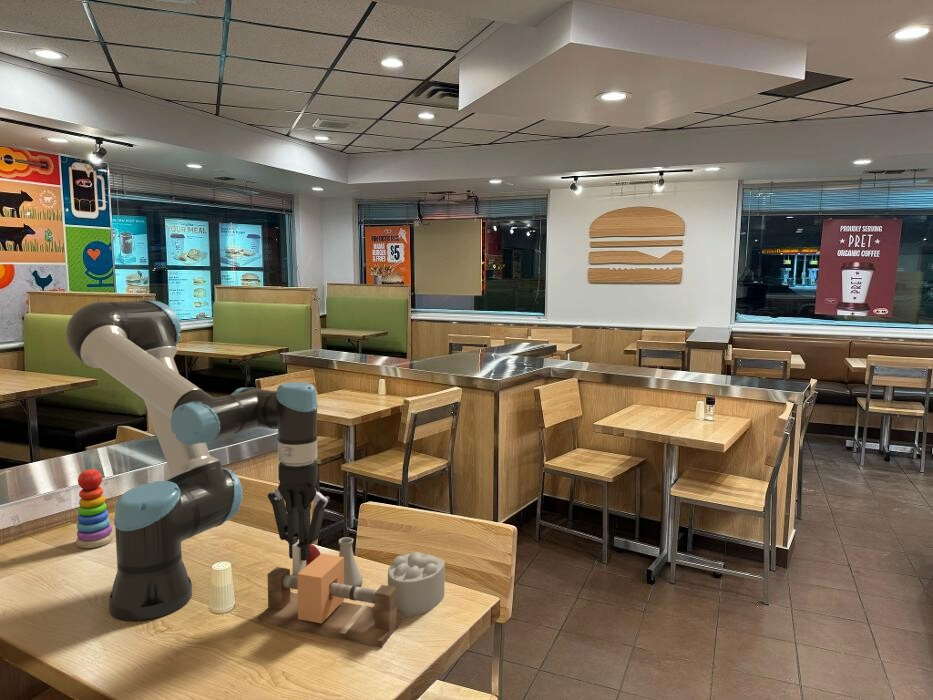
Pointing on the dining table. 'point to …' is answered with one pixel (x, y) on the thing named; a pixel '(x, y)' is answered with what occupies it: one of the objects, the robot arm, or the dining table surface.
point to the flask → (349, 563)
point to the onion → (312, 554)
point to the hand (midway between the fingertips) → (299, 573)
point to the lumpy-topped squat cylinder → (417, 582)
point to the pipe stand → (344, 620)
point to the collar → (319, 588)
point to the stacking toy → (92, 512)
